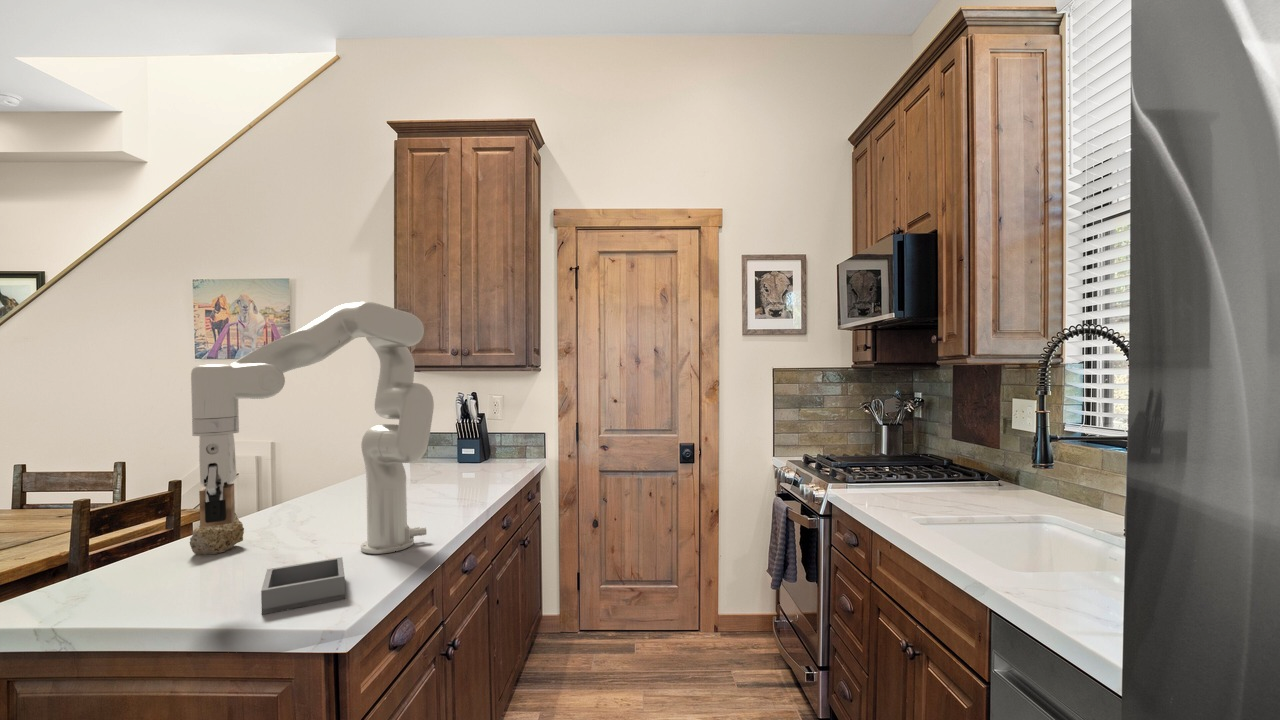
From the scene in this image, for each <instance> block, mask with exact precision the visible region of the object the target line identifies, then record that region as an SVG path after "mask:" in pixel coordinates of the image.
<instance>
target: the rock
mask: <svg viewBox="0 0 1280 720" xmlns="http://www.w3.org/2000/svg"><path fill="white" fill-rule="evenodd" d="M244 533H245V528H244V525H243V522H242V521H241V520H240V519H239V518H238V515H237V514H236V512H235V518H234V520H233V522H232V523H229V524H221V525H213V526H206V527H200V525H199V526H198V527H196V528H195V529H193V531H192V535H191V537H190V538H189V547H190V549H191V551H192V552H193V554H195V555H197V556H198V555H199V556H200V555H201V556H202V555H210V554H211V555H217V554H220V553H227V551H229V550H231V548H232V547H234V546H235V545H236V544H238V543H241V542H243V541H244Z"/></svg>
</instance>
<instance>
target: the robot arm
mask: <svg viewBox="0 0 1280 720" xmlns="http://www.w3.org/2000/svg"><path fill="white" fill-rule="evenodd" d="M424 328H425V327H424V324H423V322H422V320H420V318H419V317H417V316H416V315H414V314H413V313H411V312H408V311H404V310H400V309H398V308H394V307H391V306H387V305H383V304H380V303H376V302H372V301H360V302H348V303H343V304H341V305H338V306H335V307H334V308H332V309H330V310H329V311H327V312H325V313H324V314H322V315H320V316H318V317H317V318H316V319H314V320H312V321H311V322H309V323H307V324H305V326H302V327H300V328H299V329H297V330H295V331H293V332H291V333H288V334H286V335H283V336H281V337H280V338H278V339H276V340H273V341H271V342H269V343H267V344H265V345H262V346H261V347H258V348H255V349H254V350H252V351H250V352H248V353H246V354H245V355H243V356H242V357H240V358H239V359H237V360H234V362H232V363H230V364H203V365H197V366H195V367H193V368H192V369H191V373H190V384H191V385H190V386H191V391H190V393H191V421H192V422H191V429H192V430H191V431H192V433H191V435H192V436H193V437H199V439H198V440H199V443H198V444H199V446H198V448H199V450H198V451H199V457H198V458H199V478H200V479H199V480H200V485H201V486H202V487H206V502H205V522H206V523H210V522H218V521H224V520H225V519H226V500H224V484H233V483H234V481H235V479H236V478H237V464H236V463H237V461H236V460H237V459H236V444H235V438H234V437H235V436H234V434H238V433H240V418H239V415H240V413H239V399H240V400H241V399H244V400H245V399H247V400H248V399H250V400H251V399H252V400H263V399H264V400H265V399H269V398H273V397H274V396H276V395H277V394H279V393H280V392H281V391H282V390H283V388H284V387H285V383H286V380H285V379H286V378H285V373H287V372H289V371H293V370H296V369H300V368H305V367H309V366H311V365H315V364H317V363H320V362H322V361H324V360H325V359H327V358H328V357H329V356H331V355H332V354H334V353H336V352H337V351H338V350H339V349H341V348H342V347H343V348H344V346H346V345H347V344H349V343H350V342H351V341H353V340H355V339H358V338H366V341H367V342H368V343H369V344H370V346H371V347H372V348H373V349H374V351H375V352H376V354H377V357H378V359H379V365H380V367H379V376H378V379H377V386H376V392H375V399H374V411H375V414H377V415H378V416H379V417H380V418H381V419H382V418H383V419H386V420H398V424H395V423H394V424H392V423H391V424H389V423H388V424H387V423H383V424H377V425H374V426H372V427H370V428H369V429H367V430H366V431H365V433H364V435H363V437H362V438H361V452H362V453H361V454H362V457H363V462H364V467H365V469H364V470H365V480H366V482H365V484H366V489H365V490H366V491H365V492H366V528H367V529H366V533H367V536H366V537H367V541H364V542H363V543H362V544H361V545H360V551H361V552H362V553H364V554H369V555H370V554H372V555H379V554H380V555H381V554H389V553H395V551H396V552H399V551H402V550H405V549H408V548H410V547H412V546H413V545H414V544H415V543H414V542H415V541H414V539H415V538H414V537H417V536H418V537H419V536H420V537H421V536H426V535H427V527H420V526H417V527H414V528H413V527H410V526H409V524H408V515H407V514H408V509H407V506H408V503H407V497H408V496H407V474H406V470H405V469H406V468H405V466H404V464H411V463H416V462H418V461H419V460H421V459H422V458H423V457H424V456H425V454H426V451H427V449H428V446H429V442H430V441H429V440H430V436H431V428H432V421H433V416H434V410H435V409H434V408H435V403H434V397H433V393H432V392H431V390H430V389H429V387H427V386H426V385H424V384H422V383H418V382H414V378H415V367H416V366H415V361H414V357H413V355H412V353H411V351H410V350H409V348H408V347H413V346H415V345H417V344H419V343H420V342H421V341H422V339H423V337H424V334H425V329H424ZM219 488H220V490H219Z"/></svg>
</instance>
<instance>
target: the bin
mask: <svg viewBox="0 0 1280 720" xmlns="http://www.w3.org/2000/svg"><path fill="white" fill-rule="evenodd" d="M343 561H344V560H343V557H341V556H340V557H335V558H328V559H321V560H317V561H310V562H309V561H308V562H304V563H303V562H302V563H296V564H292V565H291V564H290V565H286V566H285V565H284V566H279V567H273V568H266V571H265V572H266V573H265V576H264V579H263V582H262V587H261V591H260V592H261V593H260V594H261V595H260V596H261V597H260V598H261V600H260V601H261V615H262V616H263V615H268V614H267V613H269V614H274V613H278V611H279V612H283V611H282V610H284V611H288V610H287V609H290V610H295V609H300V608H305V607H309V606H310V605H311V606H316V605H321V604H325V603H326V604H327V603H330V602H337V601H341V600H345V599H346V582H345V581H346V577H345V568H344V562H343ZM304 606H305V607H304ZM294 608H295V609H294Z"/></svg>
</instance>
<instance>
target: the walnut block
mask: <svg viewBox="0 0 1280 720" xmlns="http://www.w3.org/2000/svg"><path fill="white" fill-rule="evenodd" d="M219 490H220V488H219ZM198 492H199V526H200V527H206V526H213V525H221V524H229V523H232V522H233V520H234V518H235V513H236V508H235V507H236V506H235V504H236V502H235V501H236V500H235V483H234V482H232V483H231V484H224V500H226V519H225V520H224V521H218V522H210V523H206V522H205V502H206V487H204V486H202V487H201V489H199V491H198Z"/></svg>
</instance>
